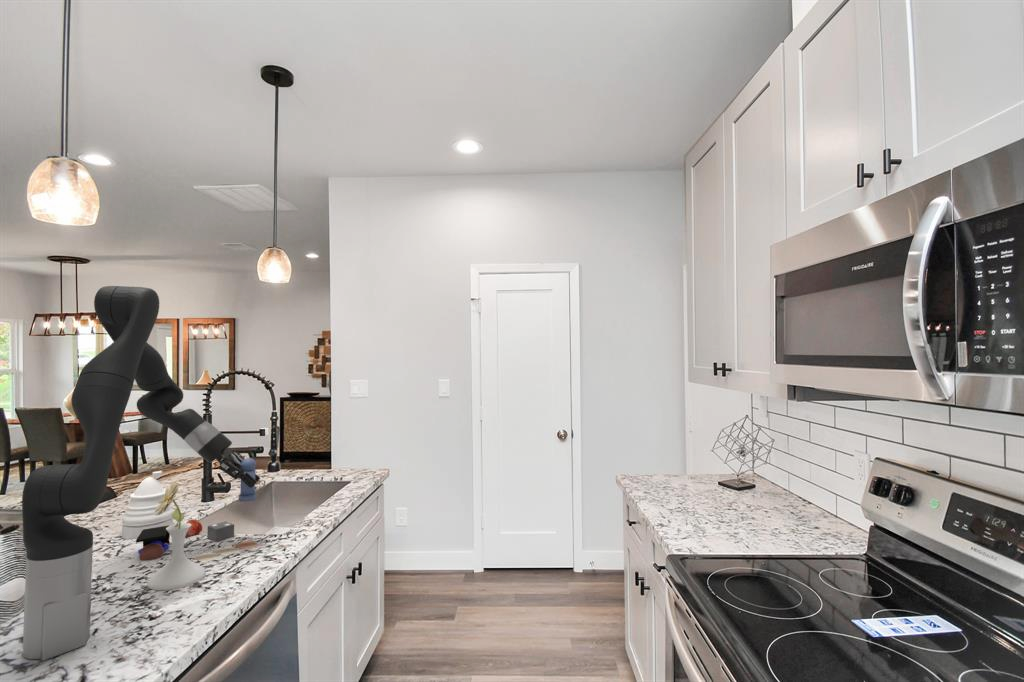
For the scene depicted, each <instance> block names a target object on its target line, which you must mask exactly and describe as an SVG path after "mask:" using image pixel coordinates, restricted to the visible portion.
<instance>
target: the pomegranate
mask: <svg viewBox="0 0 1024 682" xmlns="http://www.w3.org/2000/svg"><path fill="white" fill-rule="evenodd" d="M185 523H190V524H191V527H190V528H189V529H188V531H187V533H186V536H185V539H188V538H191V537H196V536H198V535H200V533H201V532H202V531H203V525H202V523H201V522H200V521H198V519H190V520H187V521H186V522H185Z"/></svg>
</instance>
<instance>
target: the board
mask: <svg viewBox="0 0 1024 682" xmlns="http://www.w3.org/2000/svg"><path fill="white" fill-rule="evenodd" d="M258 546H261V544H260V543H258V542H255V541H253V540H250V539H248V540H244V541H241V542H237V543H234V544H232V545H227V546H224V547H221V548H217V549H215V550H213V551H208V552H205V553H200V554H198V555H195V556H191V558H192V559H194V560H196V561H199V562H201V563H202V564H204V563H208V562H211V561H215V560H217V559H220V558H223V557H227V556H230V555H233V554H236V553H240V552H242V551H246V550H249V549H253V548H256V547H258Z"/></svg>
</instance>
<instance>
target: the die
mask: <svg viewBox="0 0 1024 682" xmlns="http://www.w3.org/2000/svg"><path fill="white" fill-rule="evenodd" d="M206 531H207V533H206V535H207V539H208V540H210V541H211V542H215V543H218V542H222V541H224V540H227V539H231V538H234V537H235V524H234V523H231V522H227V520H226V521H222V522H219V523H218V522H217V523H214V524H211V525H207V530H206Z"/></svg>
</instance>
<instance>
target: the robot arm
mask: <svg viewBox="0 0 1024 682" xmlns="http://www.w3.org/2000/svg"><path fill="white" fill-rule="evenodd" d="M159 297H160V296H159V294H158V293H157V291H156V290H154V289H153V288H150V287H143V286H123V285H121V286H120V285H106V286H102V287H100V288H99V289H98V290H97V292H96V293H95V295H94V299H93V300H94V301H93V307H94V313H95V314H96V317H97V319H98V321H99V322H100V324H101V326H102V327H103V328H104V329H105V331H106V333H107V334H108V336H109V337H110V338H111V340H112V341H113V342H112V343H111V344H110V345H108V346H107V347H106V348H104V349H103V350H102V351H100V352H99V353H97V354H96V355H95V356H94V357H93V358H92V359H90V360H89V362H87V363H86V364H85V365H84V366H83V368H81V370H80V373H79V375H78V377H77V381H76V383H75V386H74V388H73V392H72V394H71V401H70V403H71V407H72V410H73V412H74V415H75V416H76V419H77V420H78V423H79V425H80V427H81V429H82V431H83V434H84V438H85V447H84V452H83V457H82V460H81V462H80V463H71V464H70V463H69V464H51V465H50V464H49V465H43V466H39V467H37V468H35V469H33V471H32V472H31V473H30V474H29V475H28V476H27V478H26V480H25V482H24V486H23V490H22V495H21V496H22V497H21V508H22V509H21V511H22V512H21V513H22V515H21V516H22V540H23V541H22V542H23V544H24V547H25V550H26V557H25V558H26V562H25V581H24V582H25V583H24V607H23V609H24V610H23V611H24V612H23V630H22V631H23V637H22V638H23V639H22V640H23V641H22V642H23V643H22V657H24V658H25V659H29V660H41V661H47V660H48V659H52V658H54V657H57V656H60V655H62V654H64V653H65V654H66V653H67V652H70V651H72V650H75V649H78V648H81V647H83V646H86V645H87V644H88V643H87V641H88V640H89V639H90V637H91V635H90V634H91V617H92V615H91V612H92V611H91V608H92V578H93V554H94V553H93V552H94V551H93V549H94V533H93V531H92V530H91V529H89V528H87V527H83V526H80V525H78V524H75V523H72V522H70V521H69V520H67V519H66V518H65V517H64V516H68V515H70V516H71V515H83V514H89V513H92V512H93V511H95V510H96V509H97V507H98V506H99V505H100V504H101V501H102V500H103V497H104V495H105V493H106V489H107V486H108V482H109V481H108V480H109V478H110V477H109V476H110V471H111V466H112V461H113V456H114V451H115V447H116V442H117V437H118V433H119V429H120V427H121V423H122V420H123V418H124V417H123V416H124V414H125V412H126V407H127V405H128V402H129V400H130V396H131V394H132V390H133V388H134V387H133V386H134V382H135V383H136V385H137V386H138V388H139V389H140V390H142V391H144V392H146V393H145V394H143V395H142V396H141V397H139V398H138V399H137V401H136V409H137V411H138V412H139V413H140V414H141V415H142V416H144V417H145V418H147V419H149V420H151V421H154V422H156V423H158V424H161V425H162V426H164V427H166V428H168V429H170V430H171V431H173V432H174V433H175V434H176V435H177V436H178V437H179V438H181V439H182V440H183V441H184V442H185V443H186V444H187V445H188V446H189V448H191V449H192V450H193V451H194V452H195V453H196V454H198V455H199V456H200V457H202V458H203V460H205V461H206V462H207V463H209V464H211V463H213V462H214V461H215V460H216V461H217V462H218V463H219V466H218V467H217V468H218V469H219V470H220V471H222V472H224V473H225V474H227V475H228V476H229V477H231V478H232V479H234V480H237V479H238V481H239V480H240V481H241V480H242V481H243V482H244V483H245V484H246V485H248V486H249V487H250V488H251V487H253V486H254V485H255V486H256V484H257V483H258V482H259V481H260V480H261V477H260V476H259V475H258V474H257V473H255V479H254V478H253V477H252V476H251V475H249V474H248V473H247V472H246V471H245V470H244V469H243V468H242V464H241V462H242V461H243V460H244V459H245V458H244V456H243V455H242V454H241V453H240V452H238V451H237V452H235V451H233V450H231V449H229V448H230V447H231V446H232V444H233V442H232V440H230V439H229V437H227V436H226V435H225V434H224V433H222V432H221V431H220V430H219V429H218V428H217V427H215V425H213V424H212V423H210V422H208V421H207V420H206V419H205V418H203V416H201V414H199V413H198V412H197V411H196V410H194V409H193V408H187V409H184V410H182V411H179V412H177V413H175V412H174V413H173V412H172V413H171V412H170V411H171V410H172V409H174V408H175V407H176V406H178V405H179V404H181V403H182V402H183V399H184V392H183V390H182V389H181V387H179V385H178V384H177V383H176V382H175V381H174V380H173V378H171V375H170V374H169V372H168V370H167V367H166V366H167V365H166V364H165V361H164V358H163V357H162V355H161V354H160V353H159V351H158V350H157V349H155V347H153V346H152V345H150V344H149V343H148V340H149V338H150V336H151V333H152V330H153V328H154V325H155V323H156V321H157V319H158V315H159V312H160V298H159ZM246 473H247V474H246Z"/></svg>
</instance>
